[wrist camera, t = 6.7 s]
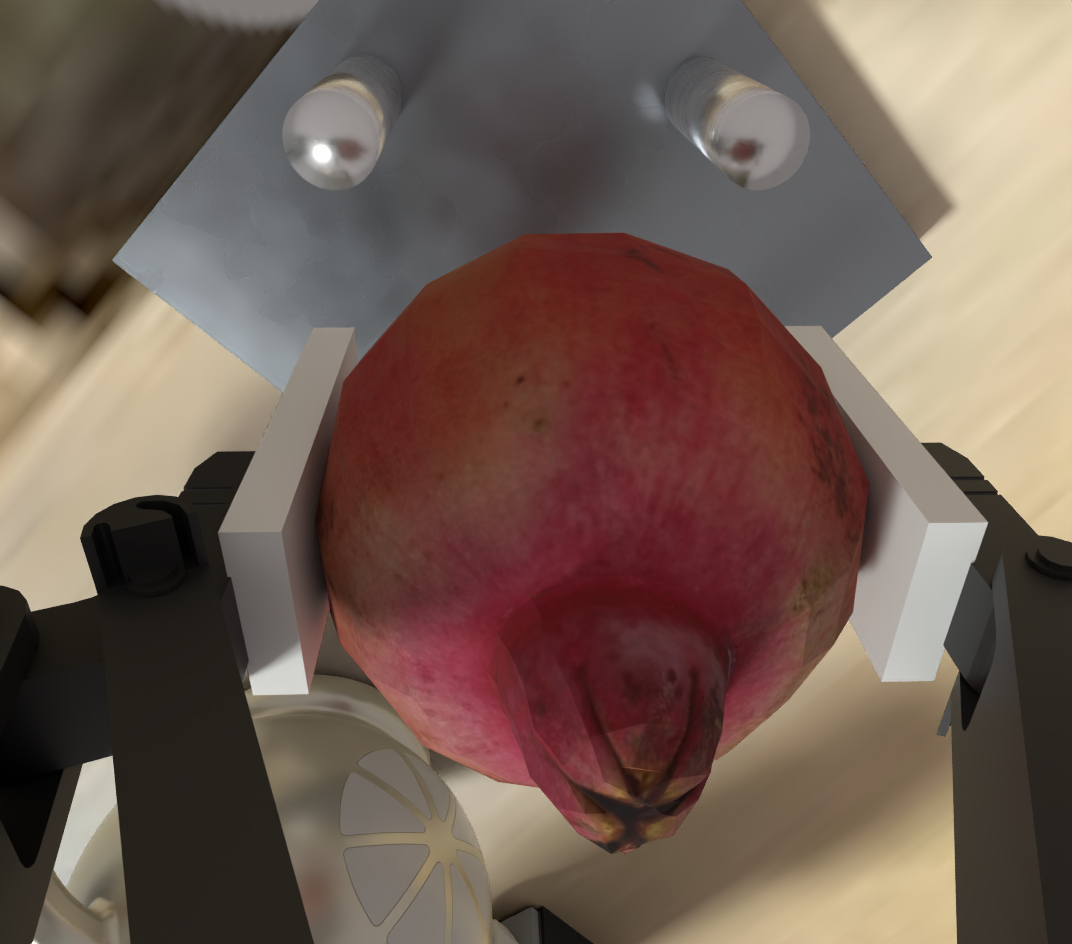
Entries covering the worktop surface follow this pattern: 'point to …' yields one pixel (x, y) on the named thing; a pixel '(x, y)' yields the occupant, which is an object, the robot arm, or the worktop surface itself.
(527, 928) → the electrical component
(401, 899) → the teapot
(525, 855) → the worktop surface
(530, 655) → the fruit
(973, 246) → the worktop surface
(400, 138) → the grey square pegged plate
